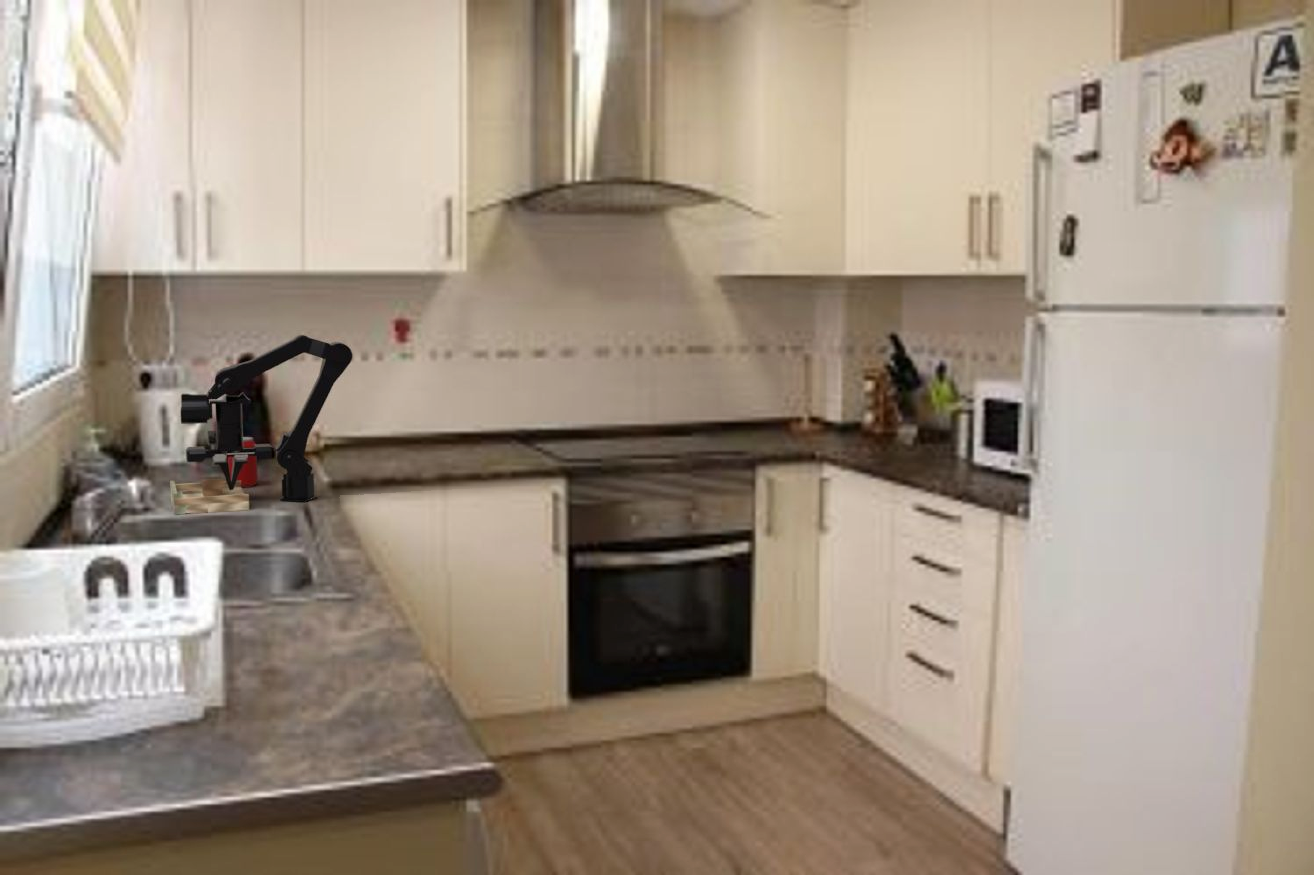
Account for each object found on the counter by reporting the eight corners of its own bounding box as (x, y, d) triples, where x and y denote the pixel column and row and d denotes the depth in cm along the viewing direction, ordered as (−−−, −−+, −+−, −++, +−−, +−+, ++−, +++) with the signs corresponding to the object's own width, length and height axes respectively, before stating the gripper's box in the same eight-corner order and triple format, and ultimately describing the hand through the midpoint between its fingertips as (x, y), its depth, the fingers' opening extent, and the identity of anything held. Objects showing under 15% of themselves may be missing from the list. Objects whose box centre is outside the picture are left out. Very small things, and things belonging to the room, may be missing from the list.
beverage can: (262, 483, 285) (260, 437, 283) (250, 488, 278) (248, 440, 276) (236, 482, 285) (235, 436, 284) (224, 487, 279) (222, 439, 277)
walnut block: (221, 493, 261) (220, 476, 260) (222, 496, 257) (222, 479, 257) (202, 494, 259) (202, 477, 259) (203, 497, 256) (203, 480, 255)
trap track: (241, 494, 270) (240, 476, 269) (249, 509, 253) (248, 490, 252) (170, 499, 263) (170, 480, 263) (174, 514, 246) (173, 494, 246)
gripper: (267, 417, 269) (269, 481, 271) (183, 420, 261) (185, 486, 263) (273, 423, 259) (275, 489, 261) (186, 425, 251) (188, 494, 253)
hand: (231, 489), depth 260 cm, fingers closed
